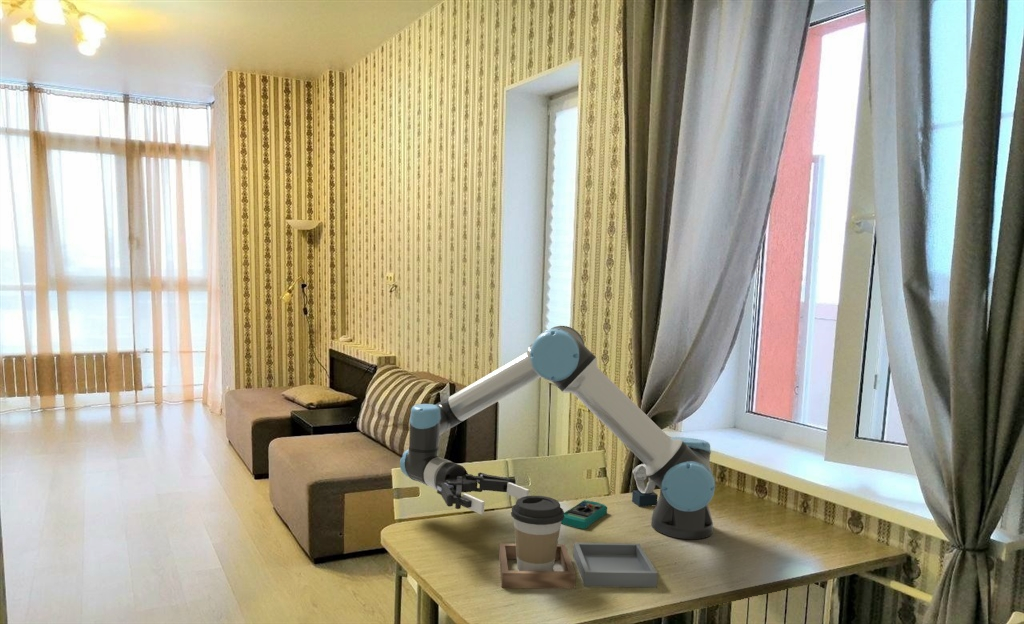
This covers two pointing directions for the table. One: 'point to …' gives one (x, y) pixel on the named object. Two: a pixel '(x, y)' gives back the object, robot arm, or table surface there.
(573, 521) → the digital multimeter
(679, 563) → the table surface
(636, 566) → the tray
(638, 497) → the watch
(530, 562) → the coffee cup
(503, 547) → the collar
